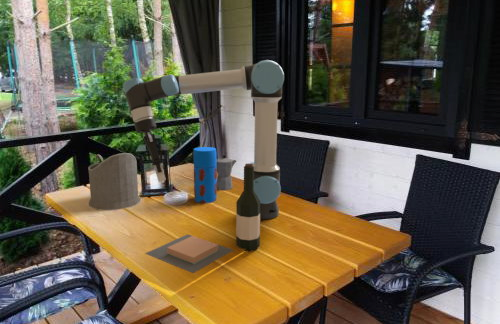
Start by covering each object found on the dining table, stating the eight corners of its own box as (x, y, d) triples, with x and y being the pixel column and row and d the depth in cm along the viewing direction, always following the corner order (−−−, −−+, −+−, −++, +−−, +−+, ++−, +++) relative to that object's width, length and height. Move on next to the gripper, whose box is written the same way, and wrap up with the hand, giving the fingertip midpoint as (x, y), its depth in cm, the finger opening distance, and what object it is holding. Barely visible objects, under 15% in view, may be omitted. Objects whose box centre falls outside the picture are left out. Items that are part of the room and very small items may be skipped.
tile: (167, 247, 130) (193, 257, 123) (192, 235, 139) (218, 244, 133) (167, 254, 130) (193, 264, 124) (192, 242, 140) (218, 251, 133)
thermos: (212, 204, 183) (212, 151, 178) (191, 202, 185) (190, 150, 180) (219, 197, 194) (219, 147, 188) (198, 195, 196) (197, 146, 190)
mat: (145, 255, 131) (145, 253, 131) (187, 236, 147) (187, 234, 147) (193, 275, 119) (193, 273, 118) (233, 252, 135) (233, 249, 134)
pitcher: (100, 214, 169) (96, 157, 163) (74, 196, 192) (70, 146, 186) (149, 202, 184) (147, 150, 179) (120, 188, 207) (117, 141, 201)
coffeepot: (234, 184, 216) (234, 152, 212) (238, 189, 207) (238, 156, 203) (206, 186, 212) (206, 153, 208) (209, 191, 204) (208, 157, 200)
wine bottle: (246, 239, 145) (247, 160, 138) (264, 245, 140) (266, 164, 133) (231, 246, 139) (231, 164, 132) (249, 253, 133) (250, 168, 127)
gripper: (133, 125, 151) (151, 184, 151) (133, 119, 138) (153, 183, 139) (153, 121, 153) (170, 178, 153) (154, 114, 141) (173, 177, 141)
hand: (162, 181), depth 146 cm, fingers closed
